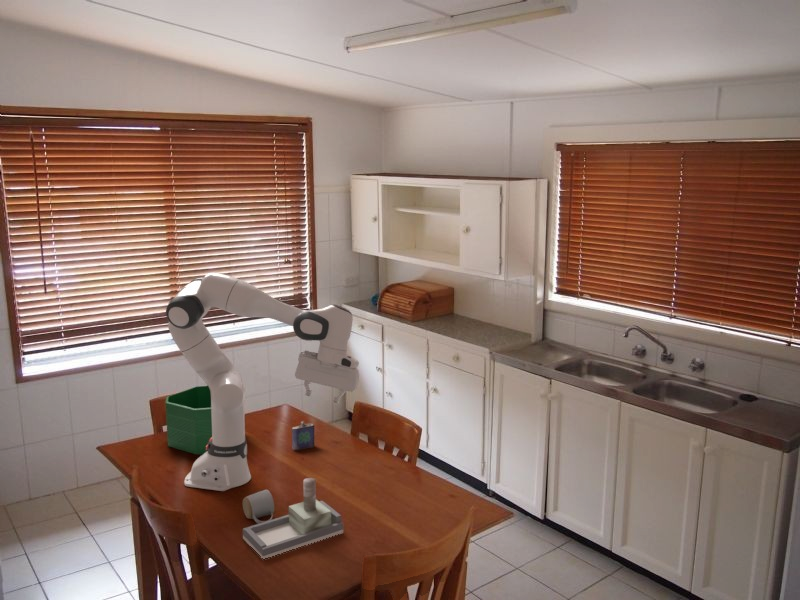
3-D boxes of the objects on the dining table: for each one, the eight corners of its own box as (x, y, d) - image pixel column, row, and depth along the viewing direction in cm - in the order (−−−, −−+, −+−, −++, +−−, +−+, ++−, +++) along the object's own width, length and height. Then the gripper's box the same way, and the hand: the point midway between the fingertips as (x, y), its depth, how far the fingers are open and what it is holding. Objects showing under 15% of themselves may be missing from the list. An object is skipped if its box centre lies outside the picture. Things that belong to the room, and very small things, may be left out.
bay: (263, 560, 195) (262, 543, 194) (242, 538, 206) (242, 522, 205) (343, 532, 210) (343, 517, 209) (320, 514, 221) (320, 498, 220)
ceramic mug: (241, 514, 220) (240, 491, 219) (265, 507, 225) (265, 485, 223) (254, 529, 212) (254, 505, 210) (279, 521, 216) (279, 498, 215)
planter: (207, 423, 298) (205, 382, 294) (253, 435, 285) (252, 393, 281) (158, 443, 276) (156, 399, 272) (206, 457, 263) (204, 411, 259)
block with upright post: (304, 537, 204) (303, 490, 201) (289, 523, 212) (288, 478, 209) (331, 528, 209) (330, 482, 206) (315, 514, 217) (314, 471, 214)
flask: (293, 451, 269) (293, 424, 268) (290, 448, 272) (290, 422, 270) (315, 446, 274) (315, 420, 272) (312, 444, 277) (312, 418, 275)
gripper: (297, 349, 219) (288, 392, 220) (359, 364, 216) (349, 407, 216) (303, 348, 226) (294, 390, 226) (363, 363, 222) (354, 405, 222)
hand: (321, 399), depth 221 cm, fingers open, 8 cm apart
